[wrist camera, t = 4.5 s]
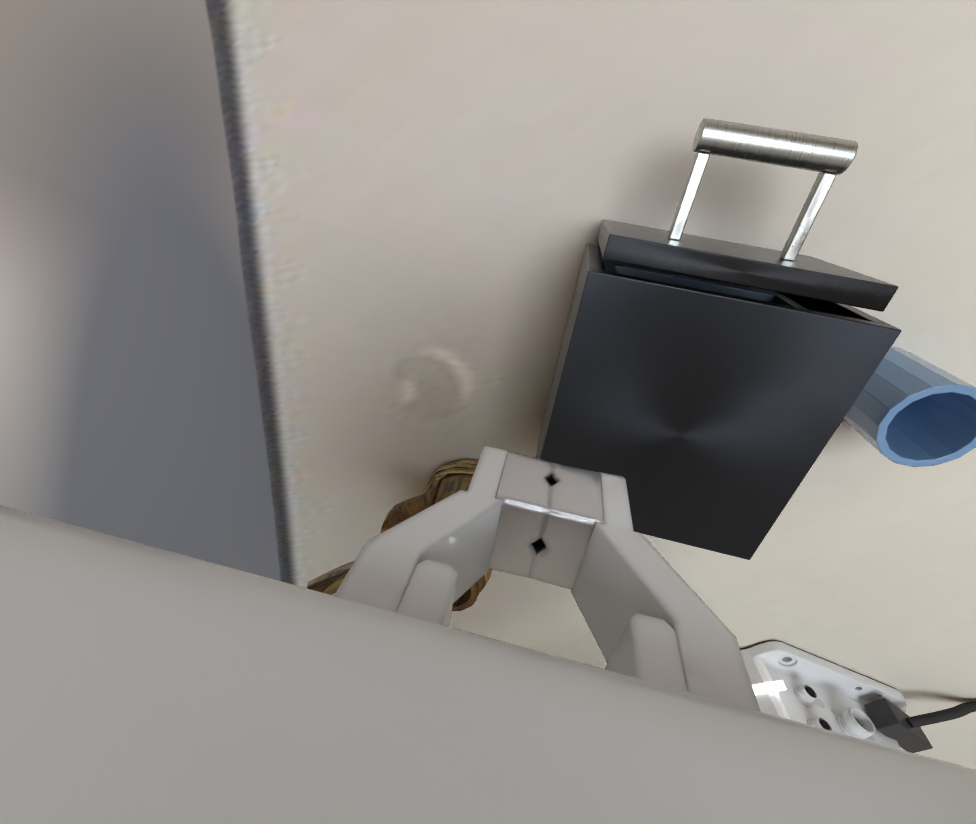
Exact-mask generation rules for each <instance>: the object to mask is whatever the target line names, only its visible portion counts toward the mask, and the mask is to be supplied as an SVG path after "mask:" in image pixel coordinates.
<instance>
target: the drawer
mask: <svg viewBox="0 0 976 824" xmlns="http://www.w3.org/2000/svg"><path fill="white" fill-rule="evenodd" d="M857 149H858V143H857V142H856V141H851V140H844V139H838V138H831V137H825V136H818V135H812V134H805V133H799V132H792V131H785V130H779V129H772V128H766V127H759V126H753V125H746V124H740V123H733V122H727V121H720V120H714V119H707V118H705V119H703V121H702V122H701V124H700V126H699V128H698V130H697V133H696V136H695V139H694V143H693V151H694V152H698V153H696V154H695V156H694V159H693V162H692V165H691V168H690V171H689V174H688V177H687V180H686V183H685V186H684V189H683V192H682V195H681V198H680V201H679V204H678V207H677V210H676V213H675V216H674V219H673V222H672V225H671V228H670V231H665V230H659V229H654V228H648V227H643V226H637V225H631V224H626V223H620V222H615V221H609V220H602V223H601V227H600V231H599V234H598V241H599V245H600V249H601V253H602V257H603V259H605V260H610V261H616V262H621V263H626V264H632V265H637V266H642V267H648V268H653V269H658V270H664V271H669V272H674V273H679V274H685V275H690V276H695V277H701V278H706V279H711V280H717V281H722V282H727V283H733V284H738V285H743V286H749V287H754V288H759V289H765V290H770V291H775V292H781V293H786V294H791V295H797V296H802V297H807V298H813V299H818V300H823V301H829V302H834V303H839V304H845V305H850V306H855V307H861V308H866V309H871V310H876V311H884V310H885V308H886V306H887V305H888V303H889V302H890V300H891V298H892V297H893V295H894V294H895V292H896V290H897V289H898V286H895V285H892V284H889V283H886V282H883V281H881V280H878V279H875V278H872V277H869V276H866V275H863V274H860V273H857V272H854V271H851V270H848V269H846V268H843V267H840V266H837V265H834V264H831V263H828V262H825V261H822V260H819V259H816V258H813V257H810V256H805V255H799V254H798V253H799V251H800V249H801V247H802V244H803V242H804V240H805V238H806V236H807V234H808V232H809V230H810V228H811V226H812V224H813V222H814V220H815V218H816V216H817V214H818V212H819V210H820V208H821V206H822V204H823V202H824V200H825V197H826V195H827V193H828V191H829V189H830V187H831V185H832V183H833V181H834V179H835V177H836V175H839V174H841V173H843V172H844V171H845V170H846V169H847V168H848V167H849V166H850V164H851V163H852V161H853V159H854V157H855V155H856V152H857ZM710 154H711V155H718V156H724V157H730V158H736V159H742V160H749V161H755V162H761V163H767V164H774V165H780V166H786V167H792V168H798V169H805V170H811V171H817V172H822V173H819V174H818V176H817V178H816V181H815V183H814V185H813V187H812V189H811V191H810V193H809V195H808V198H807V200H806V202H805V204H804V206H803V208H802V210H801V212H800V215H799V217H798V219H797V221H796V223H795V225H794V227H793V229H792V232H791V234H790V236H789V238H788V240H787V242H786V244H785V247H784V249H783V251H777V250H771V249H765V248H760V247H754V246H749V245H743V244H738V243H732V242H726V241H721V240H715V239H710V238H704V237H698V236H693V235H687V234H682V233H683V230H684V227H685V224H686V221H687V219H688V216H689V213H690V210H691V207H692V204H693V202H694V199H695V196H696V193H697V190H698V187H699V184H700V182H701V179H702V176H703V173H704V170H705V167H706V164H707V162H708V159H709V156H710ZM602 267H603V271H608V272H613V273H619V274H624V275H629V276H634V277H640V278H645V279H650V280H655V281H661V282H666V283H671V284H676V285H682V286H687V287H692V288H697V289H703V290H708V291H713V292H718V293H724V294H729V295H734V296H739V297H745V298H750V299H755V300H760V301H766V302H771V303H776V304H781V305H787V306H792V307H797V308H802V309H806V308H805V307H803V306H801V305H799V304H798V303H796V302H794V301H793V300H791V299H789V298H787V297H786V296H784V295H782V294H777V293H772V292H766V291H761V290H756V289H750V288H745V287H740V286H734V285H729V284H724V283H718V282H713V281H708V280H702V279H697V278H692V277H687V276H681V275H676V274H671V273H665V272H660V271H655V270H649V269H644V268H639V267H633V266H628V265H623V264H617V263H612V262H607V261H602Z"/></svg>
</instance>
